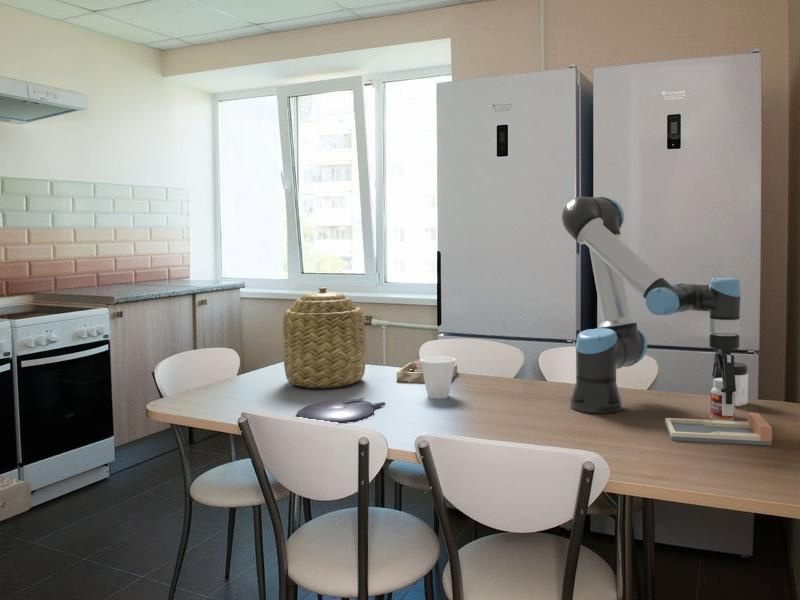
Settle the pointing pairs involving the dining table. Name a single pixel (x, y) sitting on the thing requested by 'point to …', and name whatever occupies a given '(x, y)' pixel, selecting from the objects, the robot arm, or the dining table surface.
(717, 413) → the pill bottle
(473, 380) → the dining table surface
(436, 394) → the cup
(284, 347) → the basket
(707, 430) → the keyhole board
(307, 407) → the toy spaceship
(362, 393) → the dining table surface
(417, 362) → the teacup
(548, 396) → the dining table surface
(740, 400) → the jar
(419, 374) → the birch tray rim
